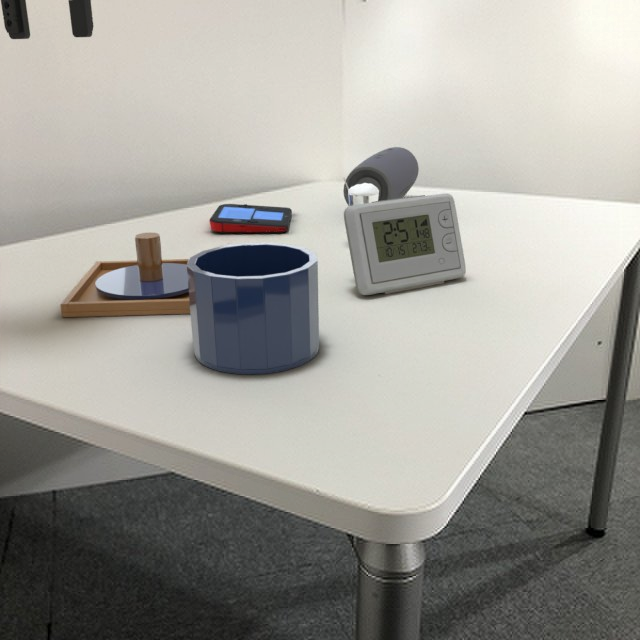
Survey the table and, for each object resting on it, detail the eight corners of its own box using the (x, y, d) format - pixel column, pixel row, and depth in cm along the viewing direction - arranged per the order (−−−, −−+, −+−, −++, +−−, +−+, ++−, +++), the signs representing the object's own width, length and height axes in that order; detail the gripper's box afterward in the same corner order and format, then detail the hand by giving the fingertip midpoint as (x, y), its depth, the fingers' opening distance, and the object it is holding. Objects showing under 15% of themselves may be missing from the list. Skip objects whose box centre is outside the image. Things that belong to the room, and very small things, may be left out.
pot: (187, 376, 73) (179, 280, 70) (201, 328, 85) (195, 244, 82) (321, 372, 74) (319, 276, 70) (316, 325, 85) (315, 241, 82)
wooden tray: (62, 317, 89) (60, 304, 89) (97, 272, 106) (96, 261, 105) (215, 313, 90) (215, 300, 89) (227, 269, 106) (226, 257, 106)
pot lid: (84, 306, 91) (77, 251, 89) (109, 272, 104) (103, 223, 101) (200, 302, 91) (196, 248, 89) (211, 269, 104) (208, 221, 102)
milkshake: (348, 239, 120) (348, 174, 117) (381, 241, 118) (382, 176, 115) (339, 246, 116) (338, 179, 113) (373, 249, 114) (374, 181, 111)
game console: (287, 233, 124) (287, 220, 123) (207, 235, 124) (206, 221, 123) (292, 213, 137) (292, 201, 137) (220, 214, 138) (219, 202, 137)
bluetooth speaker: (373, 195, 151) (373, 143, 148) (420, 197, 149) (422, 144, 145) (339, 221, 131) (339, 162, 128) (393, 224, 128) (394, 164, 125)
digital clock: (355, 300, 93) (355, 212, 89) (333, 279, 101) (332, 198, 97) (479, 287, 97) (483, 202, 93) (448, 267, 105) (451, 189, 101)
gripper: (56, -128, 81) (76, 37, 87) (-63, -153, 70) (-31, 40, 75) (111, -136, 78) (127, 36, 84) (-4, -163, 66) (24, 39, 72)
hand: (52, 38), depth 80 cm, fingers open, 8 cm apart
